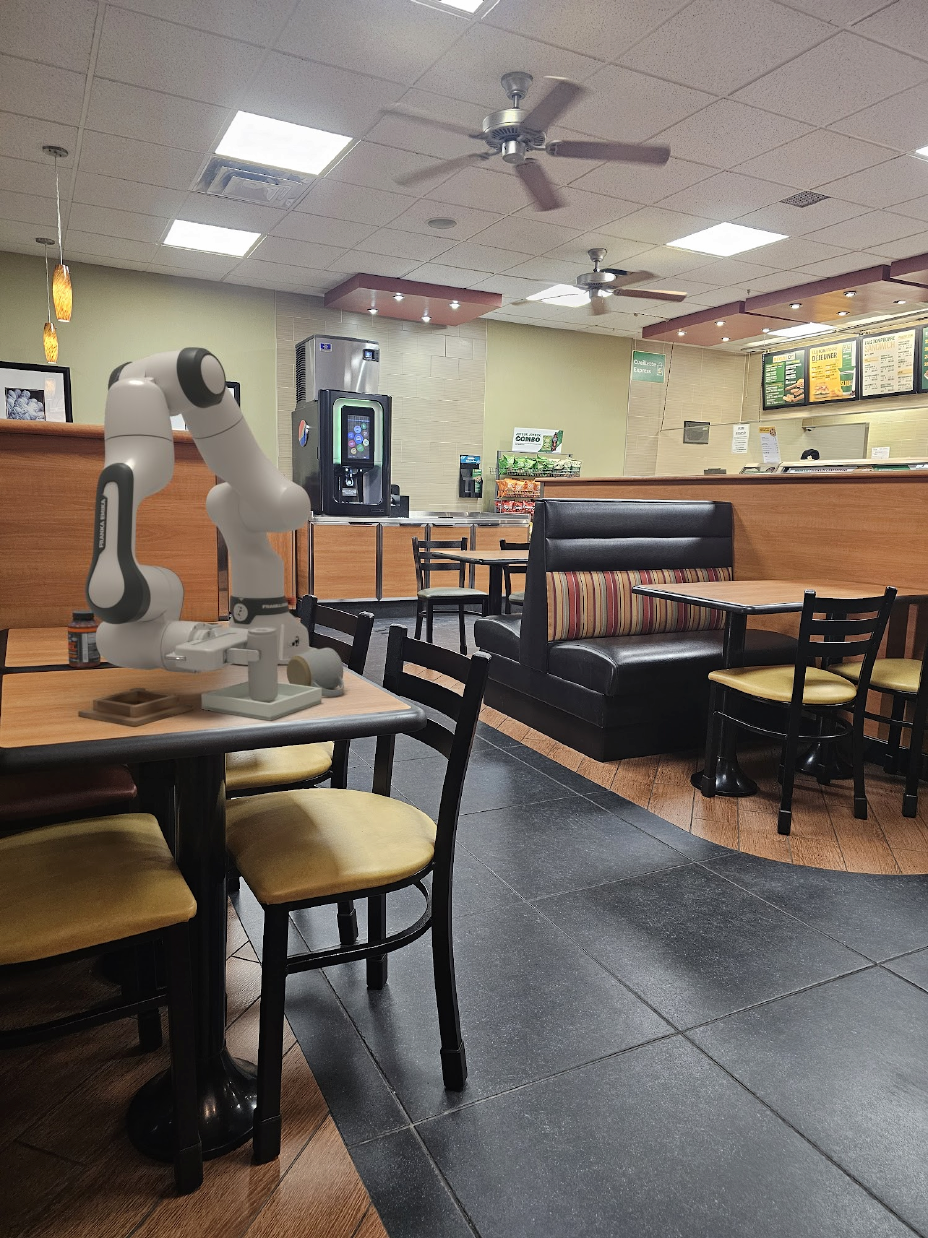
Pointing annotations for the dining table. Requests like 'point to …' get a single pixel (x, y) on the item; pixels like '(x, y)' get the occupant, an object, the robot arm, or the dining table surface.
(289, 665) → the ceramic mug
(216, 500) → the robot arm
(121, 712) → the walnut collar
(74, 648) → the supplement bottle
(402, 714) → the dining table surface
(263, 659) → the beverage can
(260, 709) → the tray
